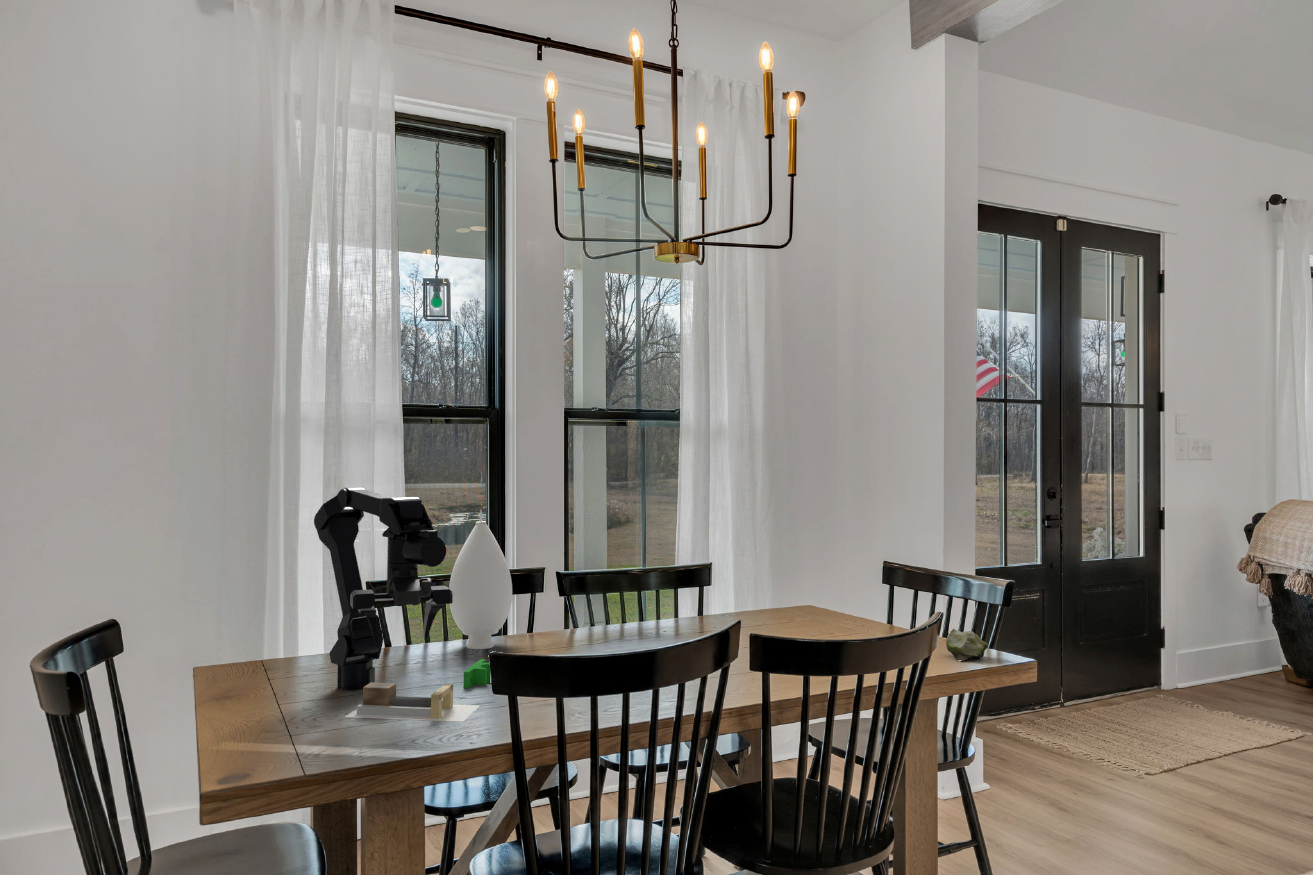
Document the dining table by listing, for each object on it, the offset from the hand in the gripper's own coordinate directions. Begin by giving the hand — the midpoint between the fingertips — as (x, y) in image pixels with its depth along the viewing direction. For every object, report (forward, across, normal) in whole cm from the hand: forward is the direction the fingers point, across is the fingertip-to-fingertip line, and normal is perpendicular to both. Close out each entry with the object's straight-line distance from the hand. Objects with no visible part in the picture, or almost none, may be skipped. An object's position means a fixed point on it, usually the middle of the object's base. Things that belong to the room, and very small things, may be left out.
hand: (401, 641), depth 169 cm
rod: (+11, +2, -8) cm, 14 cm away
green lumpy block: (+12, +132, -14) cm, 133 cm away
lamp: (+13, +26, +45) cm, 54 cm away
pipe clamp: (+13, +18, +8) cm, 23 cm away
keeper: (+12, -4, -4) cm, 13 cm away
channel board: (+12, +1, -8) cm, 15 cm away
